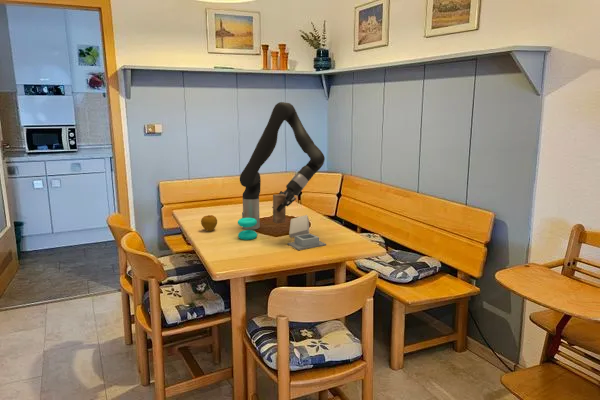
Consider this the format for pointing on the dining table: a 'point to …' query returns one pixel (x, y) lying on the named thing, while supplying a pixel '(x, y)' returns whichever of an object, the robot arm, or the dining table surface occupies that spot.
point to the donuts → (247, 233)
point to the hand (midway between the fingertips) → (275, 209)
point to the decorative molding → (299, 226)
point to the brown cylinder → (277, 200)
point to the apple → (209, 222)
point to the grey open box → (306, 242)
